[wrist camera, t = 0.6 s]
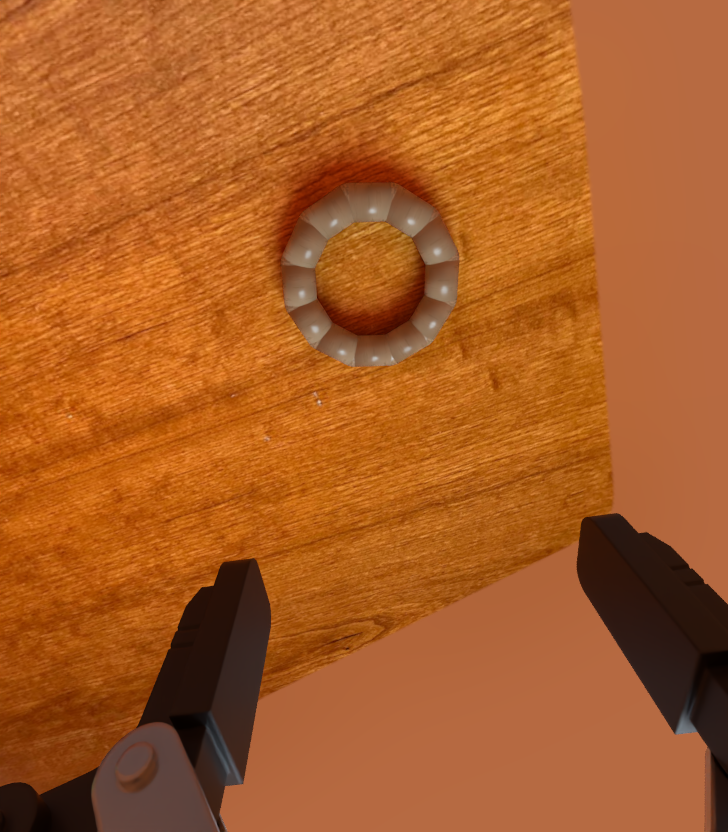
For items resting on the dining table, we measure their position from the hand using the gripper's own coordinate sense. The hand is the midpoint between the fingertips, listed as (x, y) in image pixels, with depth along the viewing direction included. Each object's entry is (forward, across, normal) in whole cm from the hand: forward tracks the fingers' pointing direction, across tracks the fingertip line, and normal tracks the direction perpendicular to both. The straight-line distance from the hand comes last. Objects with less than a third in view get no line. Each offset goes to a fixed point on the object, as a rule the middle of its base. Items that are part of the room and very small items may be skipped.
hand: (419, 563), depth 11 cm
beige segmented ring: (+16, 0, -4) cm, 17 cm away
